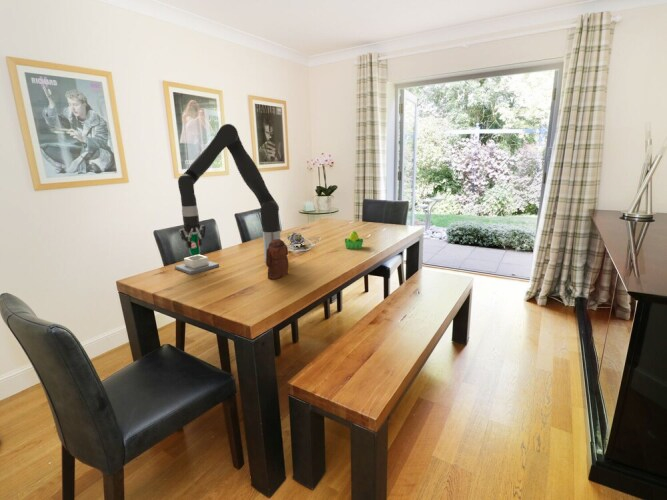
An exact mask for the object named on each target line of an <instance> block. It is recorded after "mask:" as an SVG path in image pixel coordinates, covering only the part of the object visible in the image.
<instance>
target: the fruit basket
mask: <svg viewBox="0 0 667 500" xmlns="http://www.w3.org/2000/svg"><path fill="white" fill-rule="evenodd" d="M363 243H364V238H359V235H358V233H357V231H355V230H354V231H351V232H350V234H349V238H345V239H344V244H345V248H346V250H362V246H363Z"/></svg>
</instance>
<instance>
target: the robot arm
mask: <svg viewBox="0 0 667 500" xmlns="http://www.w3.org/2000/svg"><path fill="white" fill-rule="evenodd" d="M226 148H227V150H228V151H229V153H230V154H231V157H232V159H233V162H234V163H235V166H236V168H237V170H238V173H239V175H240V177H241V178H242V180H243V182H244V183H245V184H246V186H247V187H248V188H249V189H250V191H251V192H252V193H253V194H254V195H255V197H256V199H257V201H258V203H259V205H260V223H261V230H262V240H263V253H264V262H265V263H266V251H267V249H268V246H269V243H270V242H271V241H272V240H274V239H280V240H281V226H280V220H279V219H280V218H279V215H280V214H279V211H280V207H279V204H278V203H277V201H276V200H275V199H274V198H273V196H272V194H271V193H270V191H269V189H268V187H267V186H266V183H265V180H264V178H263V176H262V174H261V172H260V169H259V168H258V167H257V165H256V163H255V162H254V160H253V158H252V157H251V156H250V155H249V153H248V152H247V150H246V149H245V147H244V145H243V142H242V140H241V139H240V136H239V132H238V129H237V128H236V127H235V125H233V124H232V123H225V124H222V125H221V126H219V129H218V130H217V132H216V135H214V137H213V139H212V140H211V141H210V143H209V144H208V146H206V148H205V149H204V150H203V151H202V152H201V153H200V154H199V155H198V156H197V157H196V158H195V160H194V161H193V162H192V163H191V164H190V166H189V167H188V168H187V170H185V172H184V173H183V174H182V175H180V176H179V177H178V179H177V185H178V190H179V195H180V202H181V214H182V222H183V228H180V229H178V233H179V236H180V239H181V240H182V241H184V242H185V243H186V247H187V248H188V249H189V248H191V242H190V237H191V234H192V232H197V233H198V238H199V246H200V247H202V243H203V242H202V239H203V238H205V236H206V226H205V225H200V217H199V208H198V205H197V198H196V197H197V196H196V194H195V186H194V185H195V184H196V182H197V181H198V180H199V179H200V178H201V176H203V175H204V174H205V173H206V172H207V171H208V170H209V168H210V167H211V166H212V165H213V163H214V162H215V160H216V159H217V158H218V157H219V154H220V153H221V152H222V151H223V150H224V149H226ZM187 234H189V235H187Z"/></svg>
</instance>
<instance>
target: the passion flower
mask: <svg viewBox="0 0 667 500" xmlns="http://www.w3.org/2000/svg"><path fill="white" fill-rule="evenodd" d="M287 239H288V240H289V241H290V243H289V244H290V246H294V244H301V243H303V242H304V243H305V242H306V240H307V239H306V238H305V236H304V235H302V234H301V233H300V232H295V231H293V233H292V234H291V235H288V236H287Z"/></svg>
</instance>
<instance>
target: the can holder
mask: <svg viewBox="0 0 667 500" xmlns="http://www.w3.org/2000/svg"><path fill="white" fill-rule="evenodd" d="M183 261H184V263H181V264H178V265H174V269H175V270H177V271H180V272H183V273H186V274H189V275H193V274H194V275H195V274H198V273H201V272H205V271H209V270H212V269H215V268H218V267H220V263H218V262H215V261H210V260H209V256H205V255H204V254H203V255H202V254H198V255H191V256H188V257H184V258H183Z"/></svg>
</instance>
